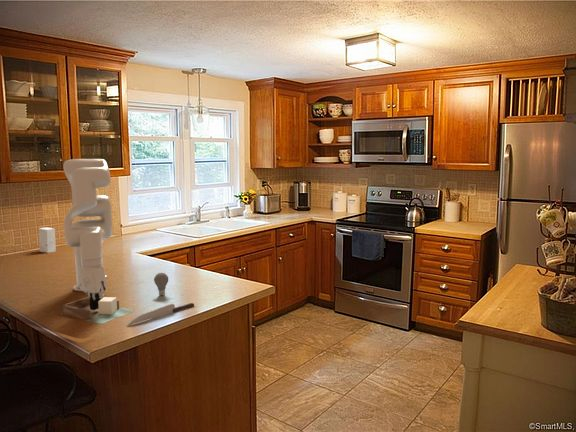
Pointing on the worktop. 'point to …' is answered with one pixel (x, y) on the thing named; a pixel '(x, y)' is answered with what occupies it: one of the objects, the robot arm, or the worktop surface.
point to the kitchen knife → (159, 312)
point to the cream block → (107, 305)
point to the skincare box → (47, 240)
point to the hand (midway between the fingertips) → (95, 308)
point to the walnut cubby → (91, 311)
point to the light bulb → (161, 282)
